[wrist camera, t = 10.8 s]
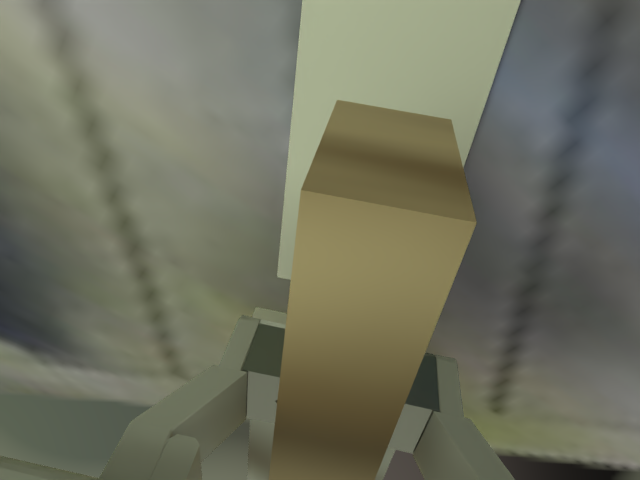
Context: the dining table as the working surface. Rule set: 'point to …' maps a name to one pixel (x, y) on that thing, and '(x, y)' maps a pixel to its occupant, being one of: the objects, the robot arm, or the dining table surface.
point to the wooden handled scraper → (363, 291)
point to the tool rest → (389, 72)
